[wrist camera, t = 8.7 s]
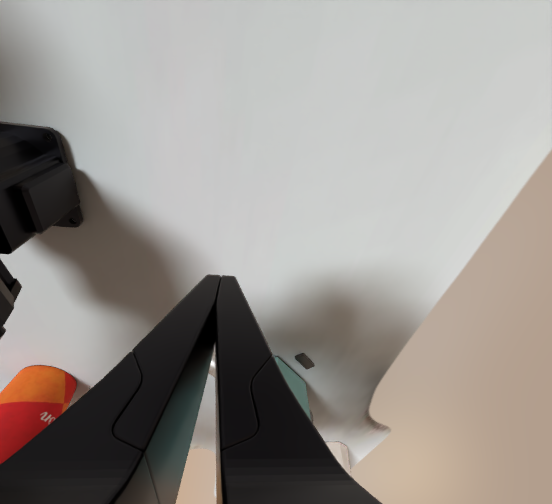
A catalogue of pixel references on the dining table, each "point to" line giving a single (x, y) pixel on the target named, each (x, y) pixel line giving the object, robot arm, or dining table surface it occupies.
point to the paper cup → (32, 405)
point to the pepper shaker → (340, 454)
